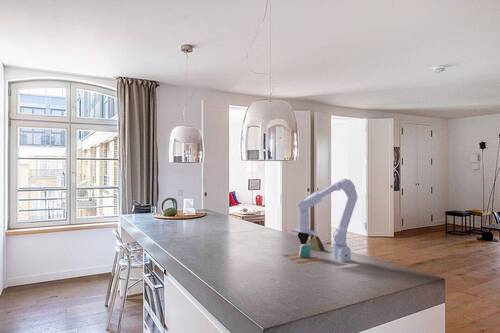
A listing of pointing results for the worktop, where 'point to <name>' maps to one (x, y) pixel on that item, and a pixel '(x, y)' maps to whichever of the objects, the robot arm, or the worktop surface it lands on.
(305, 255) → the tile
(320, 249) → the rock
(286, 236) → the worktop surface
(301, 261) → the board
